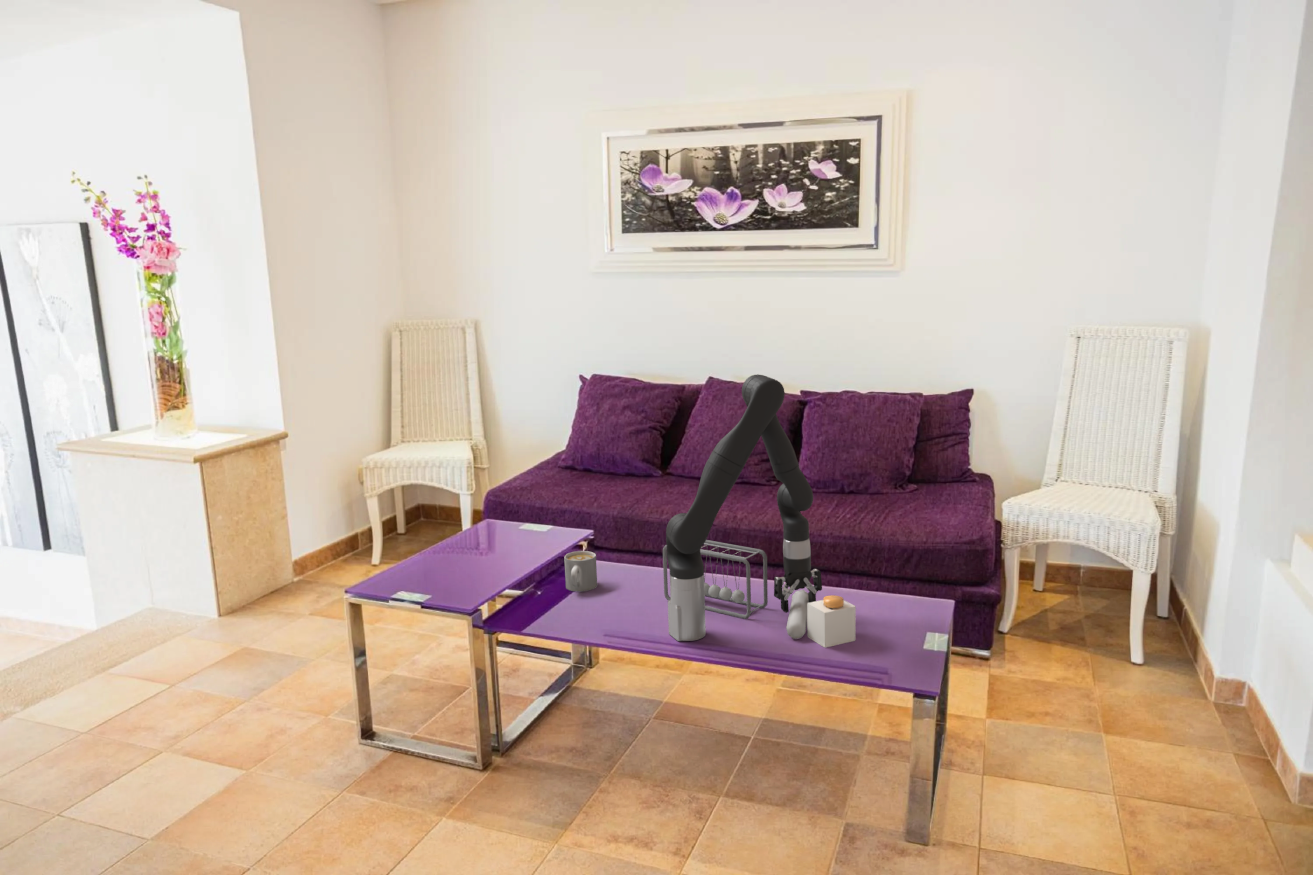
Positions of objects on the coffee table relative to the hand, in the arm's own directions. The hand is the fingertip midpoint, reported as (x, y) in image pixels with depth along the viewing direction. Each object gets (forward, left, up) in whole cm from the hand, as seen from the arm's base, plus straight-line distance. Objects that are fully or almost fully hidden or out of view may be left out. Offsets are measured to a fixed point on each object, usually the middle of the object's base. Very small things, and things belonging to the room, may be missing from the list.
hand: (798, 608), depth 253 cm
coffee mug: (-47, +53, -3) cm, 71 cm away
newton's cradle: (-16, +20, -3) cm, 26 cm away
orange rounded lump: (-1, -18, +6) cm, 19 cm away
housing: (-1, -17, -2) cm, 17 cm away
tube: (-4, -3, -2) cm, 5 cm away
